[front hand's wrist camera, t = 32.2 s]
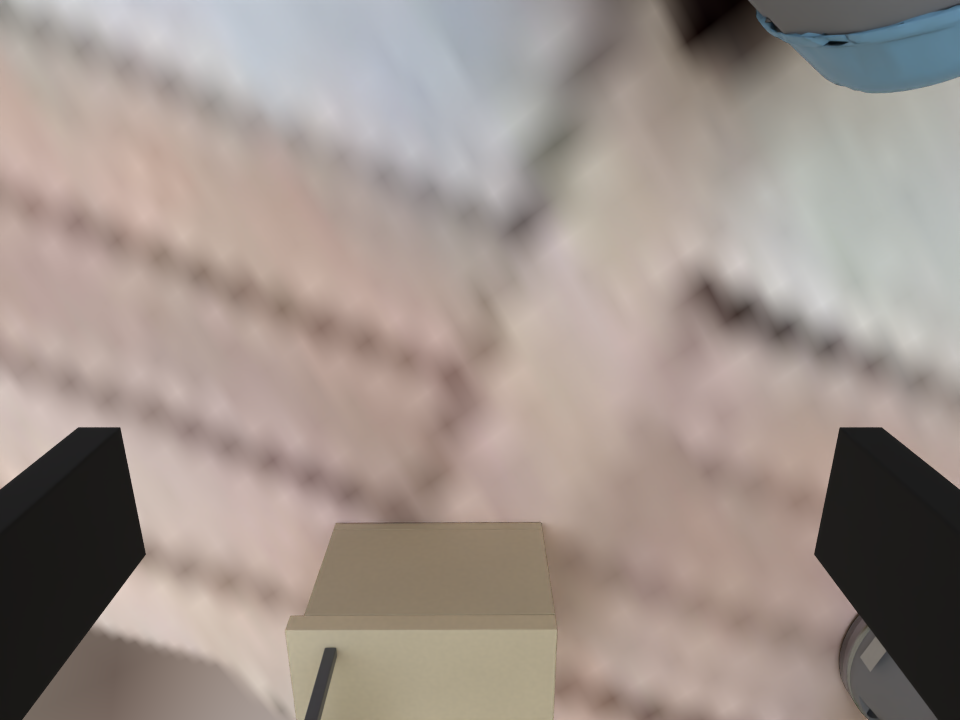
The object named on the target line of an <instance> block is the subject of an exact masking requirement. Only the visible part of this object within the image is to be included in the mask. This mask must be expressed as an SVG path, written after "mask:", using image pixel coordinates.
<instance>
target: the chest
mask: <svg viewBox="0 0 960 720" xmlns="http://www.w3.org/2000/svg"><path fill="white" fill-rule="evenodd" d="M376 615H555V611H554V604H553V597H552V591H551V584H550V578H549V571H548V564H547V558H546V551H545V544H544V538H543V531H542V524H541V523H336V524H335V527H334V530H333V533H332V536H331V539H330V542H329V545H328V548H327V551H326V553H325V556H324V559H323V562H322V565H321V568H320V571H319V574H318V577H317V580H316V583H315V585H314V588H313V591H312V594H311V597H310V600H309V603H308V606H307V609H306V612H305V615H304V616H376Z"/></svg>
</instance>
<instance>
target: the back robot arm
mask: <svg viewBox="0 0 960 720" xmlns="http://www.w3.org/2000/svg"><path fill="white" fill-rule="evenodd" d="M839 667H840V674H841V678H842V681H843V683H844V686H845V688H846V689H847V691H848V693H849V694H850V696H851V698H852V699H853V701H854V702H855V704H856V705H857V707H858V709H859V710H860V711H861V712H862V714H863V715H864V716H865V717H866V718H867V719H868V720H938V719H937V718H936V717H935V715H934V714H933V713H932V711H931V710H930V709H929V707H928V706H927V705H926V703H925V702H924V701H923V699H922V698H921V697H920V695H919V694H918V693H917V691H916V690H915V689H914V687H913V686H912V684H911V683H910V682H909V680H908V679H907V678H906V676H905V675H904V674H903V672H902V671H901V670H900V668H899V667H898V666H897V664H896V663H895V662H894V660H893V659H892V658H891V656H890V655H889V654H888V652H887V651H886V650H885V648H884V647H883V646H882V644H881V643H880V642H879V640H878V639H877V638H876V636H875V635H874V634H873V632H872V631H871V630H870V628H869V627H868V626H867V624H866V623H865V622H864V620H863V619H862V618H861V616H860V615H859V616H858V617H857V618H856V619H855V621H854V622H853V624H852V625H851V627H850V628H849V630H848V632H847V634H846V636H845V638H844V641H843V644H842V647H841V651H840V658H839Z"/></svg>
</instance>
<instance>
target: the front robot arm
mask: <svg viewBox="0 0 960 720" xmlns="http://www.w3.org/2000/svg"><path fill="white" fill-rule="evenodd" d="M748 1H749V2H750V3H751V4H752V5H753V6H754V7H755V8H756V17H757V19H758V21H759V22H760V23H761V25H762V26H763V27H764V28H765V29H766V30H767V31H768V32H769V33H770V34H771V35H773V36H775V37H777V38H779V39H781V40H783V41H784V42H787V43H789V44H790V45H791V46H792V47H793V48H794V49H795V50H796V51H797V52H798V53H799V54H800V55H801V56H802V57H803V58H804V59H805V60H806V61H808V62H809V63H810V64H811V65H812V66H813V67H814V68H815V69H816V70H817V71H818V72H819V73H820V74H821V75H822V76H823V77H824V78H826V79H827V80H829V81H831V82H832V83H834V84H836V85H840V86H845V87H848V88H850V89H853V90H858V91H862V92H866V93H890V92H899V91H907V90H912V89H918V88H922V87H926V86H931V85H934V84H938V83H942V82H945V81H948V80H951V79H954V78H957V77H960V0H748ZM145 555H146V553H145V548H144V543H143V538H142V533H141V528H140V523H139V518H138V513H137V508H136V503H135V498H134V493H133V488H132V483H131V478H130V473H129V469H128V464H127V459H126V454H125V449H124V444H123V439H122V434H121V429H120V427H78V428H77V429H76V430H74V431H73V432H72V433H71V434H69V435H68V436H67V437H66V438H64V439H63V440H62V441H61V442H59V443H58V444H57V445H56V446H54V447H53V448H52V449H51V450H49V451H48V452H47V453H46V454H44V455H43V456H42V457H41V458H39V459H38V460H37V461H36V462H34V463H33V464H32V465H31V466H29V467H28V468H27V469H25V470H24V471H23V472H22V473H20V474H19V475H18V476H17V477H15V478H14V479H13V480H12V481H10V482H9V483H8V484H7V485H5V486H4V487H3V488H2V489H0V720H22V719H23V718H24V717H25V715H26V714H27V713H28V711H29V710H30V709H31V707H32V706H33V705H34V703H35V702H36V700H37V699H38V698H39V697H40V695H41V694H42V693H43V691H44V690H45V689H46V687H47V686H48V684H49V683H50V682H51V680H52V679H53V678H54V676H55V675H56V674H57V672H58V671H59V670H60V668H61V667H62V666H63V664H64V663H65V662H66V660H67V659H68V658H69V656H70V655H71V654H72V652H73V651H74V650H75V648H76V647H77V646H78V644H79V643H80V642H81V640H82V639H83V638H84V636H85V635H86V634H87V632H88V631H89V630H90V628H91V627H92V626H93V624H94V623H95V622H96V620H97V619H98V618H99V616H100V615H101V614H102V612H103V611H104V610H105V608H106V607H107V606H108V604H109V603H110V602H111V600H112V599H113V598H114V596H115V595H116V594H117V592H118V591H119V590H120V588H121V587H122V586H123V584H124V583H125V582H126V580H127V579H128V578H129V576H130V575H131V574H132V572H133V571H134V570H135V568H136V567H137V566H138V564H139V563H140V562H141V560H142V559H143V558H144V556H145ZM814 555H815V556H816V558H817V559H818V560H819V562H820V563H821V564H822V566H823V567H824V568H825V570H826V571H827V572H828V574H829V575H830V576H831V578H832V579H833V580H834V582H835V583H836V584H837V586H838V587H839V588H840V590H841V591H842V592H843V594H844V595H845V596H846V598H847V599H848V600H849V602H850V603H851V604H852V606H853V607H854V608H855V610H856V611H857V612H858V614H859V615H860V616H861V618H862V619H863V620H864V622H865V623H866V624H867V626H868V627H869V628H870V630H871V631H872V632H873V634H874V635H875V636H876V638H877V639H878V640H879V642H880V643H881V644H882V646H883V647H884V648H885V650H886V651H887V652H888V654H889V655H890V656H891V658H892V659H893V660H894V662H895V663H896V664H897V666H898V667H899V668H900V670H901V671H902V672H903V674H904V675H905V676H906V678H907V679H908V680H909V682H910V683H911V684H912V686H913V687H914V689H915V690H916V691H917V693H918V694H919V695H920V697H921V698H922V699H923V701H924V702H925V703H926V705H927V706H928V707H929V709H930V710H931V711H932V713H933V714H934V715H935V717H936V718H937V719H938V720H960V489H958V488H957V487H956V486H955V485H953V484H952V483H951V482H950V481H948V480H947V479H946V478H945V477H943V476H942V475H941V474H940V473H938V472H937V471H936V470H935V469H933V468H932V467H931V466H929V465H928V464H927V463H926V462H924V461H923V460H922V459H921V458H919V457H918V456H917V455H916V454H914V453H913V452H912V451H911V450H909V449H908V448H907V447H906V446H904V445H903V444H902V443H901V442H899V441H898V440H897V439H896V438H894V437H893V436H892V435H891V434H889V433H888V432H887V431H886V430H884V429H883V428H882V427H840V429H839V434H838V439H837V444H836V449H835V454H834V459H833V464H832V469H831V473H830V478H829V483H828V488H827V493H826V498H825V503H824V508H823V513H822V518H821V523H820V528H819V533H818V538H817V543H816V548H815V553H814Z"/></svg>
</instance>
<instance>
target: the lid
mask: <svg viewBox="0 0 960 720" xmlns="http://www.w3.org/2000/svg"><path fill="white" fill-rule="evenodd" d="M285 635H286V642H287V650H288V658H289V666H290V674H291V681H292V689H293V697H294V705H295V713H296V720H553V717H554V695H555V672H556V649H557V624H556V617H555V615H376V616H290V619H289V621H288V624H287V627H286V629H285Z"/></svg>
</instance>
